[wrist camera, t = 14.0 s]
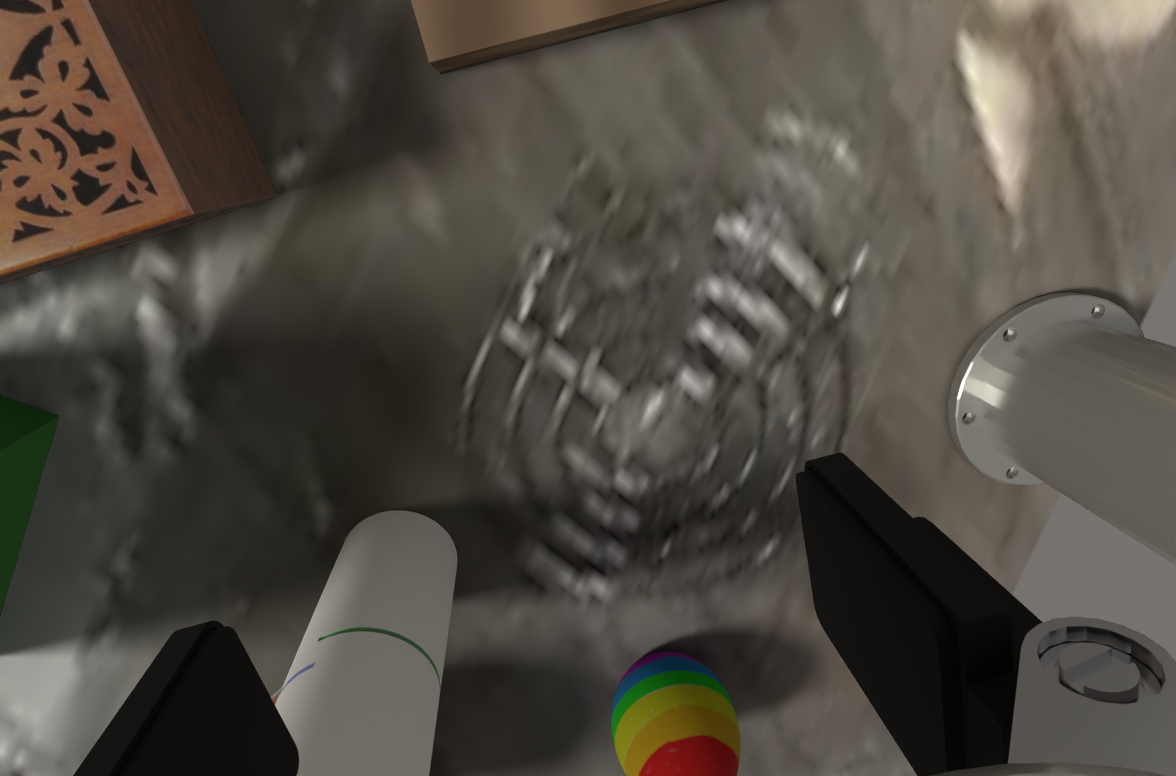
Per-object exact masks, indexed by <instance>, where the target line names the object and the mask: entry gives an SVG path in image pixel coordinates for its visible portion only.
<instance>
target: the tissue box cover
mask: <svg viewBox="0 0 1176 776" xmlns="http://www.w3.org/2000/svg"><path fill="white" fill-rule="evenodd" d="M274 197H277V194H276V192H275V189H274V187H273V185H272V183H271V180H270V178H269V176H268V174H267V171H266V169H265V167H264V165H263V163H262V160H261V158H260V156H259V154H258V151H257V149H256V147H255V145H254V142H253V140H252V138H251V136H250V133H249V131H248V129H247V127H246V124H245V122H244V120H243V118H242V116H241V113H240V111H239V109H238V107H237V104H236V102H235V100H234V98H233V95H232V93H231V91H230V89H229V86H228V84H227V82H226V80H225V77H224V75H223V73H222V71H221V69H220V66H219V64H218V62H217V60H216V57H215V55H214V53H213V51H212V48H211V46H210V44H209V42H208V39H207V37H206V35H205V33H204V30H203V28H202V26H201V24H200V22H199V19H198V17H197V15H196V13H195V10H194V8H193V6H192V4H191V1H190V0H0V284H2V283H5V282H9V281H12V280H15V279H18V278H21V277H24V276H28V275H31V274H34V273H37V272H40V271H43V270H46V269H50V268H53V267H56V266H59V265H62V264H65V263H69V262H72V261H75V260H78V259H81V258H84V257H88V256H91V255H94V254H97V253H100V252H103V251H106V250H110V249H113V248H116V247H119V246H122V245H125V244H129V243H132V242H135V241H138V240H141V239H144V238H147V237H151V236H154V235H157V234H160V233H163V232H166V231H170V230H173V229H176V228H179V227H182V226H185V225H189V224H192V223H195V222H198V221H201V220H204V219H207V218H211V217H214V216H217V215H220V214H223V213H226V212H230V211H233V210H236V209H239V208H242V207H245V206H248V205H252V204H255V203H258V202H261V201H264V200H267V199H271V198H274Z"/></svg>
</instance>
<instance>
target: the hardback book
mask: <svg viewBox="0 0 1176 776" xmlns="http://www.w3.org/2000/svg"><path fill="white" fill-rule="evenodd" d="M58 418H59V416H58V415H55V414H52V413H49V412H46V411H44V410H41V409H38V408H35V407H32V406H30V405H27V404H24V403H21V402H18V401H16V400H13V399H10V398H7V397H4V396H2V395H0V615H1V612H2V609H3V605H4V602H5V598H6V595H7V592H8V588H9V585H10V581H11V578H12V575H13V571H14V568H15V564H16V561H17V558H18V554H19V551H20V547H21V544H22V541H23V537H24V534H25V530H26V527H27V523H28V520H29V517H30V513H31V510H32V506H33V503H34V500H35V496H36V493H37V489H38V486H39V483H40V479H41V476H42V472H43V469H44V466H45V462H46V459H47V455H48V452H49V449H50V445H51V442H52V438H53V435H54V432H55V428H56V425H57V421H58Z"/></svg>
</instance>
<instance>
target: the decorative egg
mask: <svg viewBox="0 0 1176 776" xmlns="http://www.w3.org/2000/svg"><path fill="white" fill-rule="evenodd" d="M611 726H612V735H613V741H614V746H615V749H616V752H617V756H618V758H619V761H620V763H621V765H622V768H623V770H624V772H625V774H626V775H627V776H737V772H738V767H739V761H740V733H739V726H738V721H737V716H736V713H735V710H734V707H733V704H732V701H731V699H730V697H729V695H728V693H727V691H726V689H725V688H724V686H723V684H722V683H721V681H720V680H719V679H718V678H717V676H716V675H715V674H714V673H713V672H712V671H711V670H710V669H709V668H708V667H707V666H705V665H704V664H703V663H701V662H700V661H698V660H697V659H695V658H693V657H691V656H689V655H686V654H683V653H679V652H673V651H662V652H656V653H653V654H650V655H647V656H645V657H643V658H641V659H640V660H638V661H637V662H636V663H635V664H633V665H632V666H631V667H630V668H629V670H628V671H627V672H626V673H625V675H624V676H623V678H622V679H621V681H620V683H619V685H618V688H617V690H616V693H615V696H614V700H613V705H612V714H611Z"/></svg>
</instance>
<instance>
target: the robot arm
mask: <svg viewBox="0 0 1176 776" xmlns="http://www.w3.org/2000/svg"><path fill="white" fill-rule="evenodd" d="M948 422H949V427H950V432H951V436H952V438H953V440H954V442H955V445H956V447H957V449H958V451H959V452H960V453H961V454H962V455H963V457H964V458H965V459H966V460H967V461H968V462H969V463H970V464H971V465H973V466H974V467H975V468H977V469H978V470H979V471H981V472H982V473H984V474H986V475H987V476H989V477H991V478H993V479H994V480H997V481H1000V482H1003V483H1007V484H1014V485H1036V484H1044V483H1046V484H1048V485H1049V486H1051V487H1053V488H1054V489H1056V490H1057V491H1059V492H1060V493H1062V494H1064V495H1065V496H1067V497H1068V498H1070V499H1072V500H1073V501H1075V502H1076V503H1078V504H1079V505H1081V506H1083V507H1084V508H1086V509H1087V510H1089V511H1090V512H1092V513H1094V514H1095V515H1097V516H1098V517H1100V518H1102V519H1103V520H1105V521H1106V522H1108V523H1110V524H1111V525H1113V526H1114V527H1116V528H1117V529H1119V530H1120V531H1122V532H1124V533H1125V534H1127V535H1128V536H1130V537H1132V538H1133V539H1135V540H1136V541H1138V542H1139V543H1141V544H1143V545H1144V546H1146V547H1147V548H1149V549H1151V550H1152V551H1154V552H1155V553H1157V554H1158V555H1160V556H1162V557H1163V558H1165V559H1166V560H1168V561H1169V562H1171V563H1173V564H1174V565H1176V347H1173V346H1169V345H1167V344H1163V343H1160V342H1157V341H1153V340H1150V339H1147V338H1144V335H1143V332H1142V330H1141V329H1140V327H1139V326H1138V324H1137V322H1136V321H1135V319H1134V318H1133V317H1132V316H1131V315H1130V314H1129V313H1128V312H1126V311H1125V310H1124V309H1123V308H1122V307H1120V306H1118V305H1116V304H1115V303H1113V302H1111V301H1109V300H1106V299H1103V298H1099V297H1096V296H1092V295H1089V294H1081V293H1074V292H1066V293H1053V294H1049V295H1045V296H1041V297H1038V298H1034V299H1032V300H1029V301H1027V302H1025V303H1023V304H1021V305H1018V306H1016V307H1014V308H1013V309H1011V310H1010V311H1008V312H1007V313H1005V314H1004V315H1002V316H1001V317H999V318H998V319H997V320H996V321H994V322H993V323H992V324H991V325H990V326H989V327H988V328H987V329H986V330H985V331H984V332H982V333H981V335H980V336H979V337H978V338H977V340H976V341H975V342H974V343H973V345H972V346H971V347H970V348H969V349H968V351H967V353H966V355H965V356H964V358H963V360H962V362H961V363H960V365H959V367H958V369H957V372H956V374H955V377H954V380H953V382H952V385H951V390H950V395H949V400H948ZM796 485H797V492H798V499H799V506H800V512H801V519H802V526H803V532H804V539H805V546H806V553H807V559H808V566H809V573H810V580H811V586H812V593H813V600H814V606H815V610H816V613H817V616H818V619H819V621H820V624H821V626H822V627H823V629H824V631H825V632H826V634H827V636H828V637H829V639H830V640H831V642H832V643H833V645H834V646H835V648H836V650H837V651H838V653H839V654H840V656H841V657H842V659H843V660H844V662H845V664H846V665H847V667H848V668H849V670H850V671H851V673H852V674H853V676H854V678H855V679H856V681H857V682H858V684H859V685H860V687H861V688H862V690H863V692H864V693H865V695H866V696H867V698H868V699H869V701H870V703H871V704H872V706H873V707H874V709H875V710H876V712H877V713H878V715H879V717H880V718H881V720H882V721H883V723H884V724H885V726H886V727H887V729H888V731H889V732H890V734H891V735H892V737H893V738H894V740H895V741H896V743H897V745H898V746H899V748H900V749H901V751H902V752H903V754H904V755H905V757H906V759H907V760H908V762H909V763H910V765H911V766H912V768H913V770H914V771H915V773H916V774H917V776H1176V661H1175V660H1174V659H1173V658H1172V656H1171V655H1170V654H1169V653H1168V652H1167V651H1166V650H1165V649H1164V648H1163V647H1161V646H1160V645H1159V644H1157V643H1156V642H1154V641H1153V640H1151V639H1150V638H1148V637H1147V636H1145V635H1143V634H1141V633H1139V632H1137V631H1134V630H1132V629H1130V628H1128V627H1125V626H1123V625H1120V624H1116V623H1112V622H1109V621H1104V620H1101V619H1094V618H1083V617H1066V618H1056V619H1052V620H1049V621H1046V622H1042V621H1040V620H1039V619H1038V618H1037V617H1036V616H1035V615H1034V614H1033V613H1032V612H1030V611H1029V610H1028V609H1027V608H1026V607H1025V606H1024V605H1022V603H1020V602H1019V601H1018V600H1017V599H1016V598H1015V597H1014V596H1013V595H1012V594H1010V593H1009V592H1008V591H1007V590H1006V589H1005V588H1004V587H1003V586H1002V585H1000V584H999V583H998V582H997V581H996V580H995V579H994V578H993V577H992V576H990V575H989V574H988V573H987V572H986V571H985V570H984V569H983V568H982V567H980V566H979V565H978V564H977V563H976V562H975V561H974V560H973V559H972V558H971V557H969V556H968V555H967V554H966V553H965V552H964V551H963V550H962V549H961V548H959V547H958V546H957V545H956V544H955V543H954V542H953V541H952V540H951V539H949V538H948V537H947V536H946V535H945V534H944V533H943V532H942V531H941V530H939V529H938V528H937V527H936V526H935V525H934V524H933V523H932V522H930V521H929V520H927V519H926V518H923V517H915V518H912V517H911V516H910V515H909V514H908V513H907V512H906V511H904V510H903V509H902V508H901V507H900V506H899V505H898V504H897V503H896V502H895V501H894V500H893V499H892V498H891V497H889V496H888V495H887V494H886V493H885V492H884V491H883V490H882V489H881V488H880V487H879V486H878V485H877V484H876V483H874V482H873V481H872V480H871V479H870V478H869V477H868V476H867V475H866V474H865V473H864V472H863V471H862V470H860V469H859V468H858V467H857V466H856V465H855V464H854V463H853V462H852V461H851V460H850V459H849V458H848V457H847V456H845V455H844V454H843V453H836V454H832V455H828V456H825V457H821V458H817V459H813V460H810V461H807V462H806V463H805V471H803V472H800V473H797V474H796ZM298 769H299V753H298V749H297V746H296V744H295V742H294V740H293V738H292V736H291V734H290V733H289V731H288V729H287V727H286V725H285V723H284V721H283V719H282V718H281V716H280V714H279V712H278V710H277V708H276V706H275V705H274V703H273V701H272V699H271V697H270V695H269V693H268V691H267V690H266V688H265V686H264V684H263V682H262V680H261V678H260V676H259V675H258V673H257V671H256V669H255V667H254V665H253V663H252V662H251V660H250V658H249V656H248V654H247V652H246V650H245V648H244V647H243V645H242V643H241V641H240V639H239V637H238V635H237V633H236V632H235V631H234V629H232V628H231V627H228V626H226V627H224V626H223V625H222V624H221V623H219V622H218V621H210V622H206V623H202V624H198V625H195V626H191V627H187V628H183V629H180V630H177V631H175V632H174V633H173V634H172V635H171V636H170V638H169V639H168V641H167V642H166V643H165V645H164V646H163V648H162V649H161V651H160V652H159V653H158V655H157V656H156V658H155V659H154V661H153V662H152V664H151V665H150V666H149V668H148V669H147V671H146V672H145V674H144V675H143V676H142V678H141V679H140V681H139V682H138V684H137V685H136V686H135V688H134V689H133V691H132V692H131V694H130V695H129V696H128V698H127V699H126V701H125V702H124V704H123V705H122V706H121V708H120V709H119V711H118V712H117V714H116V715H115V716H114V718H113V719H112V721H111V722H110V724H109V725H108V727H107V728H106V729H105V731H104V732H103V734H102V735H101V737H100V738H99V739H98V741H97V742H96V744H95V745H94V747H93V748H92V749H91V751H90V752H89V754H88V755H87V757H86V758H85V759H84V761H83V762H82V764H81V765H80V767H79V768H78V769H77V771H76V772H75V774H74V775H73V776H297V773H298Z"/></svg>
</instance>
